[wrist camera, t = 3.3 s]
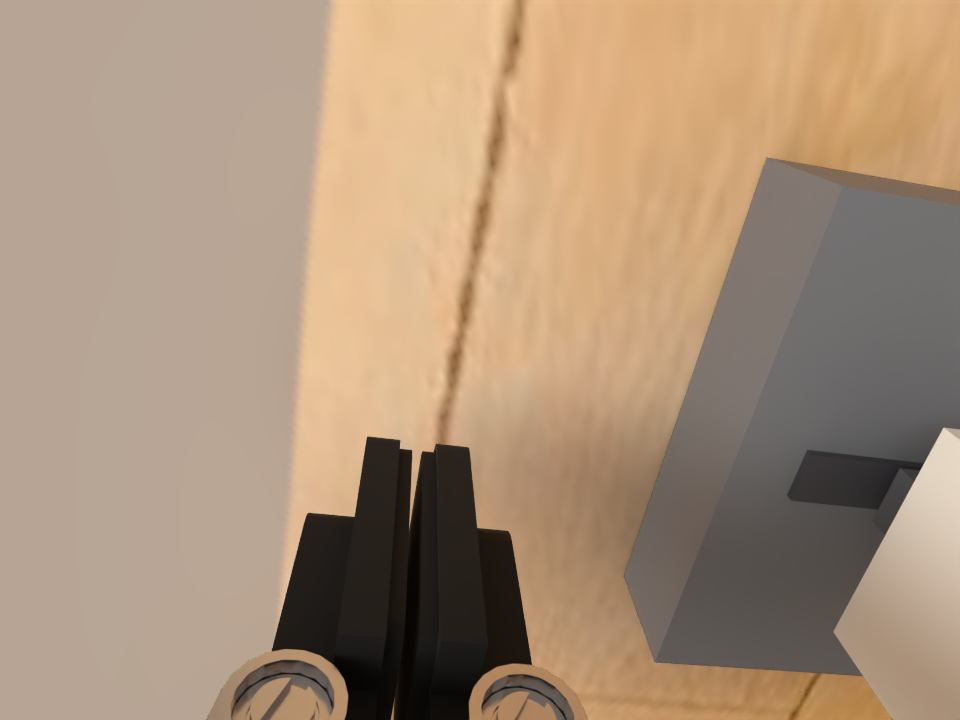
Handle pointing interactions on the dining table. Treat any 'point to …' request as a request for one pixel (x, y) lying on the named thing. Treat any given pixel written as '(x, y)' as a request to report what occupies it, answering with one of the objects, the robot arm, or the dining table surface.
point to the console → (801, 419)
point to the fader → (913, 593)
